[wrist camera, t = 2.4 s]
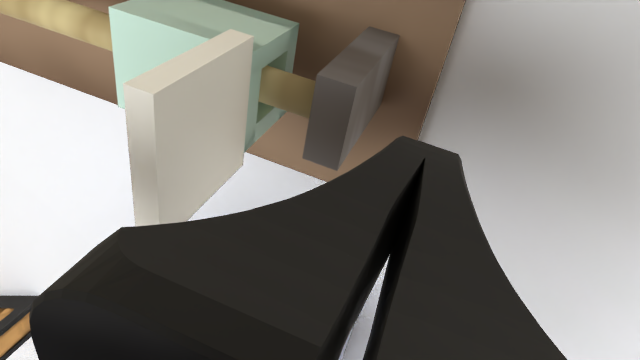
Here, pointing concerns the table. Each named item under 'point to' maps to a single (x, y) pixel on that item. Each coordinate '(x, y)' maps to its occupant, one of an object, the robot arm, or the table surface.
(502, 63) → the table surface
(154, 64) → the green sliding block
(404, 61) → the brown plate
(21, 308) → the ammunition clip
